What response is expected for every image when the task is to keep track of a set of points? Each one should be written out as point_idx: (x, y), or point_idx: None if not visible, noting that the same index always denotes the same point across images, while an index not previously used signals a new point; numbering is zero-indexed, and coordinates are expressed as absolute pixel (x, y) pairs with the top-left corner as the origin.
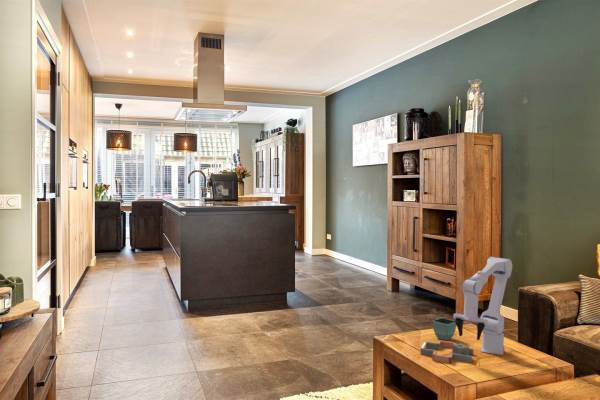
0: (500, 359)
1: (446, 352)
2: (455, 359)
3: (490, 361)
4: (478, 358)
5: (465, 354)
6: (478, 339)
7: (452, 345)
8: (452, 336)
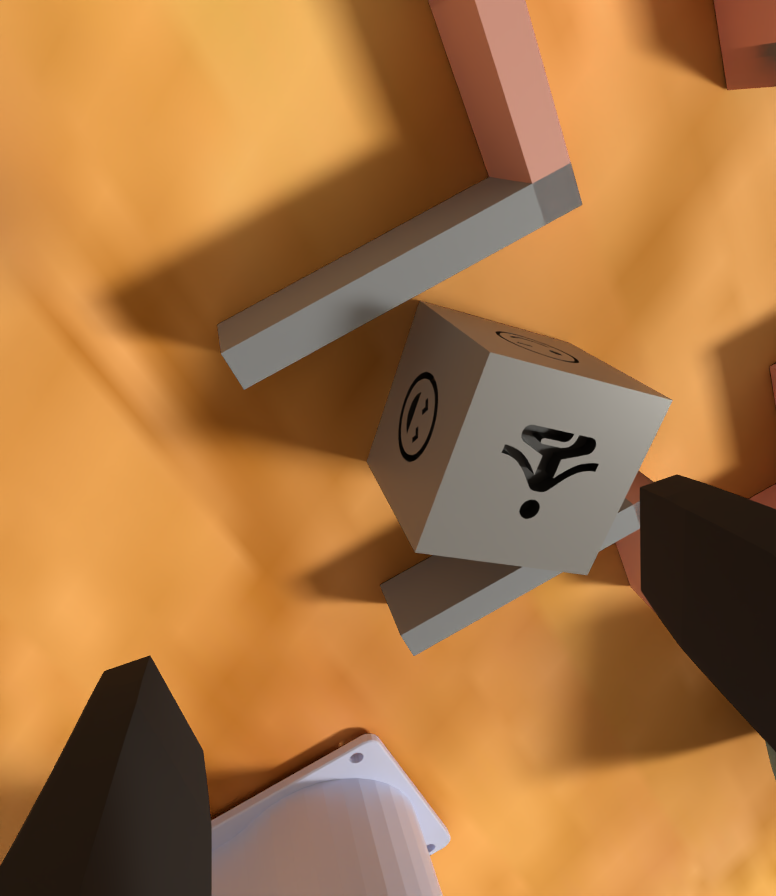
0: None
1: (664, 360)
2: (448, 202)
3: (91, 604)
4: (264, 551)
5: (402, 428)
6: (94, 691)
7: (660, 393)
8: (768, 754)
